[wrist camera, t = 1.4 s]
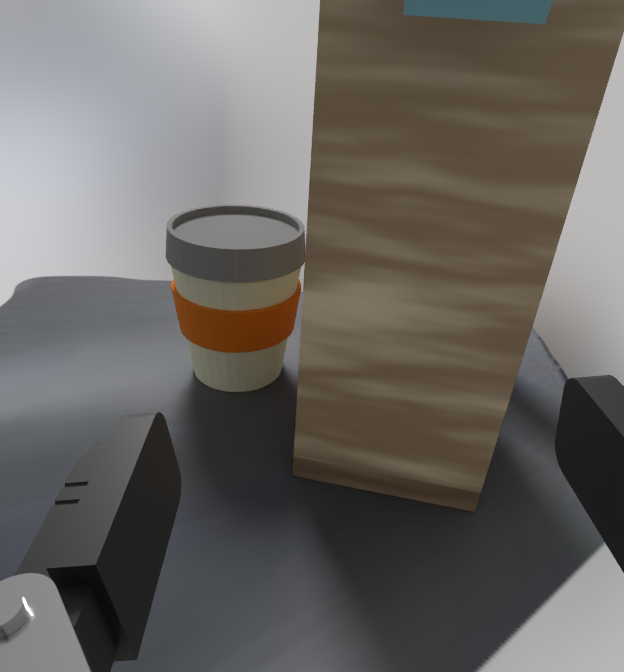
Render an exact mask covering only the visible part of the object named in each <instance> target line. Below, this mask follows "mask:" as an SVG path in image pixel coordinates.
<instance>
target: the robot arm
mask: <svg viewBox="0 0 624 672" xmlns="http://www.w3.org/2000/svg"><path fill="white" fill-rule="evenodd" d="M555 450H556V456H557V460H558V463H559V466H560V469H561V471H562V473H563V474H564V476H565V478H566V479H567V481H568V482H569V484H570V486H571V487H572V489H573V491H574V492H575V494H576V496H577V497H578V499H579V500H580V502H581V504H582V505H583V507H584V509H585V510H586V512H587V514H588V515H589V517H590V518H591V520H592V522H593V523H594V525H595V527H596V528H597V530H598V532H599V533H600V535H601V536H602V538H603V540H604V541H605V543H606V545H607V546H608V548H609V549H610V551H611V553H612V554H613V556H614V558H615V559H616V561H617V563H618V564H619V566H620V567H621V569H622V571H623V572H624V386H623V385H622V384H621V383H620V382H619V381H618V380H617V379H616V378H615V377H613V376H611V375H604V376H592V377H581V378H570V379H568V380H567V381H566V383H565V386H564V390H563V396H562V402H561V408H560V414H559V420H558V426H557V433H556V439H555ZM180 495H181V476H180V470H179V466H178V463H177V459H176V456H175V452H174V448H173V445H172V441H171V438H170V434H169V431H168V427H167V424H166V420H165V418H164V416H163V414H162V413H160V412H158V413H146V414H134V415H123V416H121V418H120V419H119V420H118V422H117V425H116V427H115V429H114V431H113V433H112V435H111V437H110V439H109V441H108V442H103V443H96V444H95V445H94V446H93V447H92V448H91V449H90V450H88V451H87V452H86V453H85V454H84V455H83V456H82V457H81V458H80V459H79V460H78V461H77V462H76V463H75V465H74V467H73V469H72V471H71V473H70V474H69V476H68V478H67V480H66V482H65V487H63V488H62V489H61V491H60V493H59V495H58V496H57V498H56V500H55V505H54V506H52V507H51V509H50V511H49V513H48V515H47V517H46V519H45V520H44V522H43V524H42V526H41V528H40V530H39V531H38V533H37V535H36V537H35V539H34V541H33V542H32V544H31V546H30V548H29V550H28V552H27V554H26V555H25V557H24V559H23V561H22V563H21V565H20V566H19V568H18V570H17V572H16V574H15V575H14V576H12V577H10V578H7V579H4V580H2V581H0V672H110V671H111V667H112V664H113V661H127V660H137V657H138V653H139V650H140V646H141V642H142V639H143V635H144V631H145V627H146V624H147V620H148V616H149V613H150V609H151V605H152V601H153V598H154V594H155V590H156V587H157V583H158V579H159V575H160V572H161V568H162V564H163V561H164V557H165V553H166V549H167V546H168V542H169V538H170V535H171V531H172V527H173V523H174V520H175V516H176V512H177V509H178V505H179V501H180Z"/></svg>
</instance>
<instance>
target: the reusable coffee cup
mask: <svg viewBox="0 0 624 672" xmlns="http://www.w3.org/2000/svg"><path fill="white" fill-rule="evenodd" d="M166 239H167V240H166V259H167V261H168V263H169V264H170V265H171V267H172V271H173V276H174V279H173V281H172V285H171V289H172V293H173V298H174V302H175V307H176V311H177V316H178V320H179V325H180V329H181V331H182V334H183V335H184V336H185V337H186V338H187V341H188V346H189V350H190V355H191V359H192V364H193V369H194V372H195V375H196V377H197V378H198V379H199V380H200V381H201V382H202V383H204V384H205V385H207V386H209V387H211V388H214V389H217V390H221V391H227V392H246V391H252V390H256V389H259V388H262V387H265V386H267V385H269V384H270V383H272V382H273V381H274V380H276V379H277V377H278V376H279V375H280V372H281V369H282V364H283V359H284V354H285V348H286V343H287V338H288V337H289V335H290V334H291V333H292V331H293V329H294V323H295V318H296V313H297V308H298V303H299V297H300V292H301V283H300V280H299V273H300V269H301V266H302V265H303V264H304V262H305V235H304V225H303V224H302V222H301V221H300V220H298V219H297V218H296V217H293V216H292V215H290V214H287V213H285V212H282V211H278V210H274V209H270V208H265V207H258V206H249V205H216V206H206V207H200V208H194V209H190V210H187V211H184V212H181V213H179V214H177V215H175V216H174V217H172V218H171V219H170V220H169V221H168V223H167V238H166Z"/></svg>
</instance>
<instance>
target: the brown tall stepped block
mask: <svg viewBox="0 0 624 672" xmlns="http://www.w3.org/2000/svg"><path fill="white" fill-rule="evenodd" d="M404 1H405V0H320V14H319V32H318V48H317V66H316V82H315V99H314V116H313V134H312V151H311V168H310V184H309V202H308V219H307V236H306V253H305V270H304V288H303V304H302V321H301V338H300V355H299V372H298V389H297V406H296V423H295V441H294V458H293V475H292V476H297V477H302V478H307V479H312V480H317V481H322V482H327V483H332V484H337V485H342V486H347V487H352V488H357V489H362V490H367V491H372V492H377V493H382V494H387V495H392V496H397V497H402V498H407V499H412V500H417V501H422V502H427V503H432V504H437V505H442V506H447V507H452V508H457V509H462V510H467V511H472V512H475V510H476V507H477V504H478V500H479V497H480V494H481V491H482V487H483V484H484V481H485V478H486V475H487V471H488V468H489V465H490V462H491V458H492V455H493V452H494V449H495V445H496V442H497V439H498V436H499V433H500V429H501V426H502V423H503V420H504V416H505V413H506V410H507V407H508V403H509V400H510V397H511V394H512V391H513V387H514V384H515V381H516V378H517V374H518V371H519V368H520V365H521V362H522V358H523V355H524V352H525V349H526V345H527V342H528V339H529V336H530V332H531V329H532V326H533V323H534V319H535V316H536V313H537V310H538V306H539V303H540V300H541V297H542V294H543V290H544V287H545V284H546V281H547V277H548V274H549V271H550V268H551V265H552V261H553V258H554V255H555V252H556V248H557V245H558V242H559V239H560V235H561V232H562V229H563V226H564V223H565V219H566V216H567V213H568V210H569V206H570V203H571V200H572V197H573V193H574V190H575V187H576V184H577V181H578V177H579V174H580V171H581V167H582V165H583V161H584V158H585V155H586V151H587V148H588V145H589V142H590V138H591V135H592V132H593V129H594V126H595V122H596V119H597V116H598V113H599V109H600V106H601V103H602V100H603V97H604V93H605V90H606V87H607V83H608V81H609V77H610V74H611V71H612V67H613V64H614V61H615V58H616V55H617V51H618V48H619V45H620V42H621V39H622V35H623V32H624V0H553V2H552V5H551V8H550V11H549V14H548V17H547V20H546V24H533V23H518V22H503V21H488V20H472V19H457V18H442V17H427V16H412V15H403V12H404Z"/></svg>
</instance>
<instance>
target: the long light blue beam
mask: <svg viewBox="0 0 624 672" xmlns="http://www.w3.org/2000/svg"><path fill="white" fill-rule="evenodd" d="M552 2H553V0H405V1H404V12H403V15H412V16H427V17H442V18H457V19H472V20H488V21H503V22H518V23H533V24H546V20H547V17H548V14H549V11H550V8H551V5H552Z"/></svg>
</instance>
